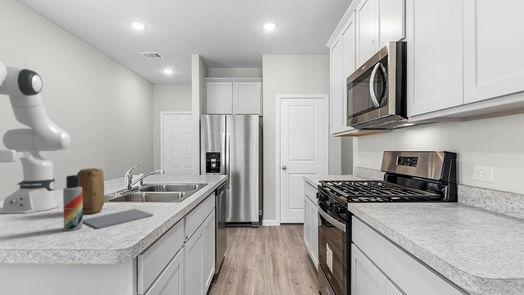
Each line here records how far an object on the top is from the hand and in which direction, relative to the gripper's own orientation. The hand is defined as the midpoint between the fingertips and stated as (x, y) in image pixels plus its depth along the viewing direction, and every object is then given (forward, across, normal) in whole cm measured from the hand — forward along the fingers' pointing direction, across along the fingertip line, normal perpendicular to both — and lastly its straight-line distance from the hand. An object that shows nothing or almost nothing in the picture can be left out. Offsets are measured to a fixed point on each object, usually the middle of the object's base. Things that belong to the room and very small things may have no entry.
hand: (29, 154), depth 86 cm
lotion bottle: (+12, 0, +28) cm, 31 cm away
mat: (+28, 0, +28) cm, 40 cm away
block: (+25, +21, +28) cm, 43 cm away
